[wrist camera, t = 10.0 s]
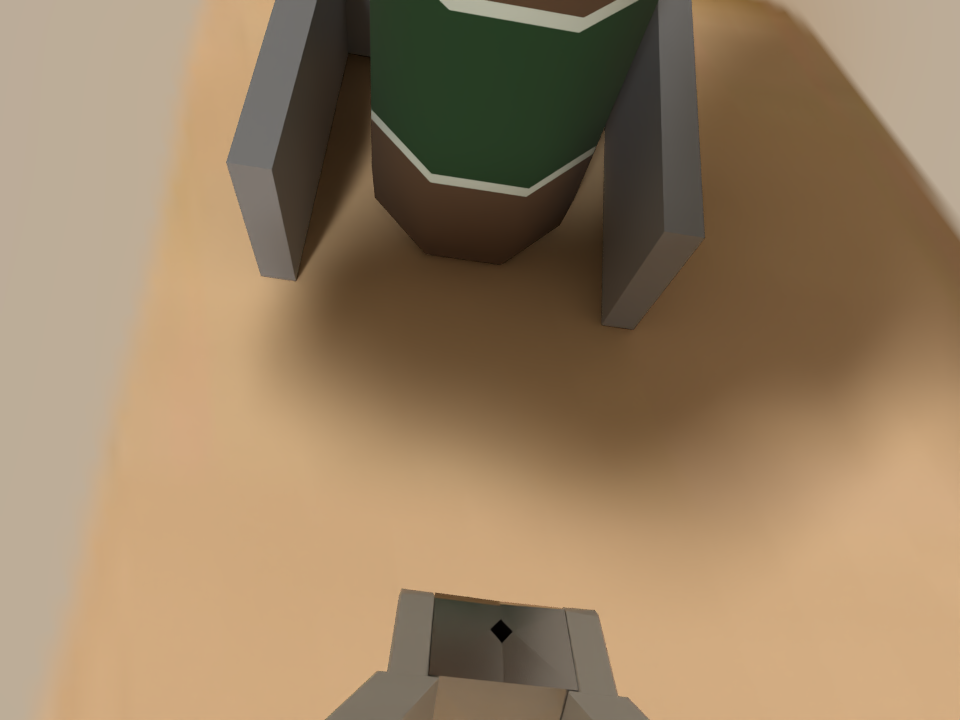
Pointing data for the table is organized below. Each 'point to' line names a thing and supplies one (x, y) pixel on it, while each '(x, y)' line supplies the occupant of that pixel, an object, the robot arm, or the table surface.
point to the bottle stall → (627, 149)
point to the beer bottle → (492, 113)
